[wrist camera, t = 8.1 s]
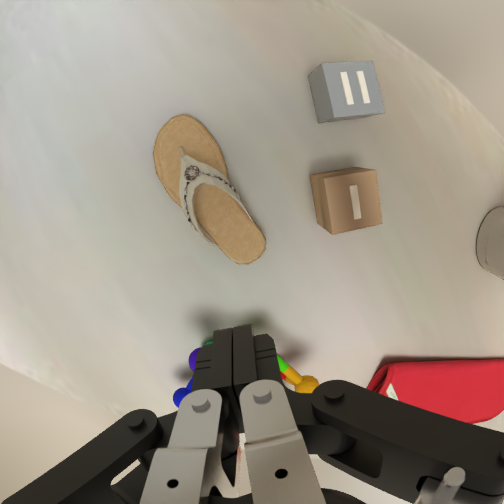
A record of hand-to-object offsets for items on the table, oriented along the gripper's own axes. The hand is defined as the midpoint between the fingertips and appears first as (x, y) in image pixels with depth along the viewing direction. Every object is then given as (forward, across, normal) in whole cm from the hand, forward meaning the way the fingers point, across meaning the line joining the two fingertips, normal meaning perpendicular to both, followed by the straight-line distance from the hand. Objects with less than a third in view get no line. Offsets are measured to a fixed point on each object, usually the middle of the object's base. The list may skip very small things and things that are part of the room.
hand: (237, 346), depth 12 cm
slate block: (+21, -13, -12) cm, 27 cm away
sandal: (+21, +2, -4) cm, 21 cm away
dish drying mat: (+22, -31, +36) cm, 52 cm away
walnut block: (+21, -11, -1) cm, 23 cm away
